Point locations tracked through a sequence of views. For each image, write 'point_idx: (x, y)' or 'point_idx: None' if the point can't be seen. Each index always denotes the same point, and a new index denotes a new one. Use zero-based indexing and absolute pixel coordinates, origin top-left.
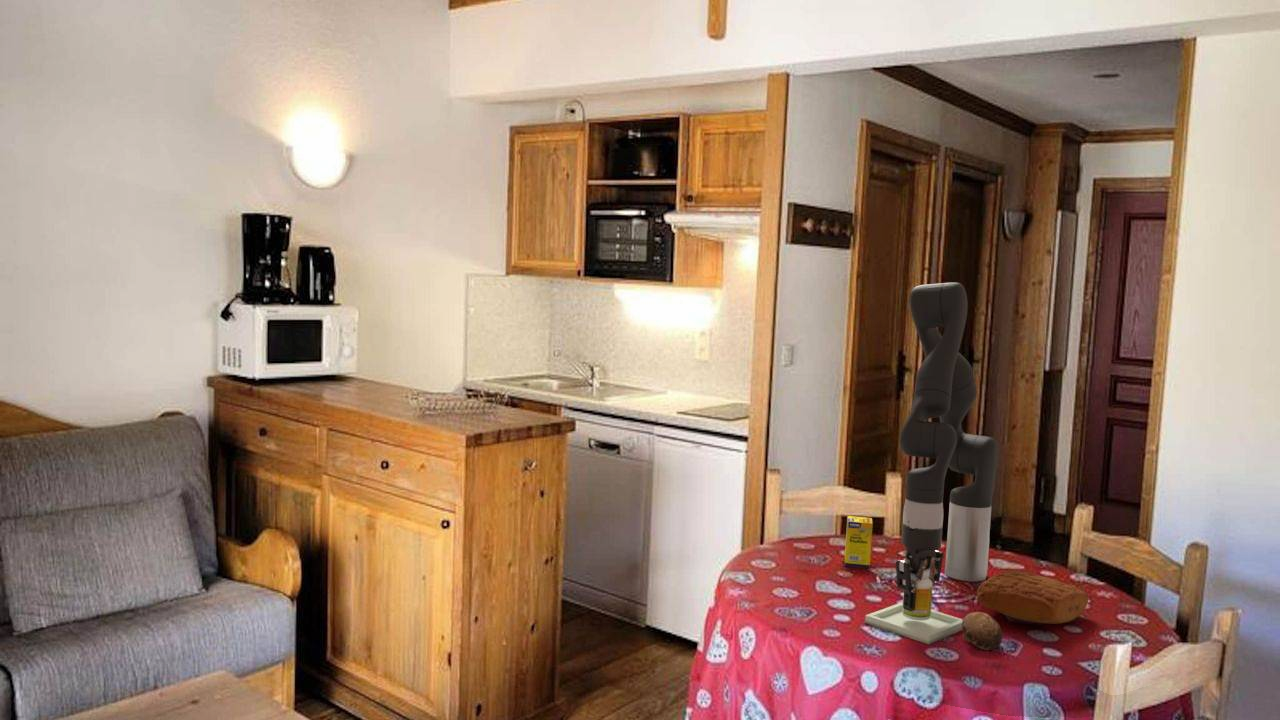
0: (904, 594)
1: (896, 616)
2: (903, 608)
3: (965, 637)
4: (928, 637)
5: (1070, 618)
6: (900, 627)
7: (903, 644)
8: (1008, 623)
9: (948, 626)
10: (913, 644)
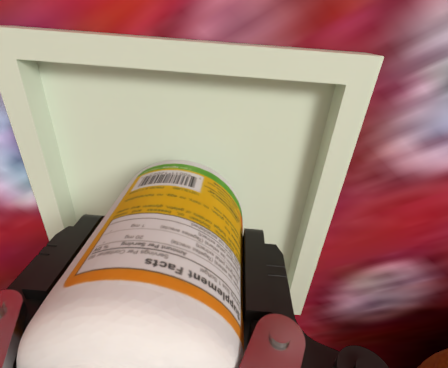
0: (15, 284)
1: (193, 105)
2: (122, 192)
3: None
4: None
5: None
6: (41, 208)
7: (6, 232)
8: (426, 340)
9: None
10: (37, 249)
